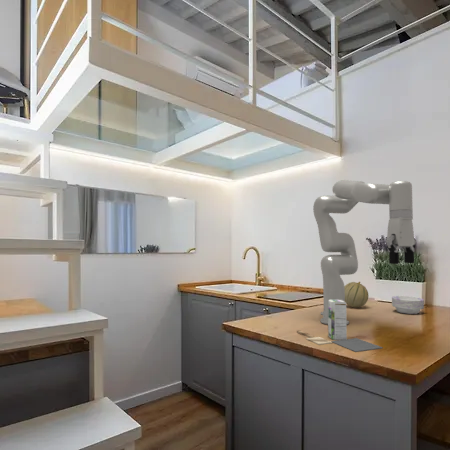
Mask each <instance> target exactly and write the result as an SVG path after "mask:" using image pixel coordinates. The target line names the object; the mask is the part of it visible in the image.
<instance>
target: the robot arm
mask: <svg viewBox="0 0 450 450" xmlns="http://www.w3.org/2000/svg"><path fill="white" fill-rule="evenodd" d="M332 193H333V195H325V194H324V195H320V196H318V197H316V199H315V201H314V203H313V215H314V219H315V222H316V225H317V228H318V229H317V230H318V234H319V237H318V238H319V241H320V243H319V244H320V247H321V249H322V251H323V252H325V253H340V254H328V255H325V256H324V257H322V258H321V261H320V270H321V274H322V287H323V288H322V289H323V291H322V292H323V293H322V294H323V295H322V296H323V311H321V312H319V313H320V316H322V318H320V323H322V324H324V325H328V300H342V301H344V302H345V288H344V286H345V283H344V281H343V279H342V276H346V275H348V276H349V275H354V274H356V272H357V271H358V269H359V261H358V260H359V259H358V255H357V249H356V244H355V240H354V238H353V236H352V235H351V234H349V233H347V232H338V229H337V223H336V221H335V220H334V217H332V216H331V214H348V213H349V212H350V211H351V210H353V209H354V207H356V206H357V205H358V203H365V204H374V205H375V204H376V205H377V204H379V205H389V206H388V207H389V208H388V209H389V215H388V216H389V217H388V218H389V219H388V225H387V232H386V233H387V234H386V240H385V242H386V245H387V246H386V247H387V249H388V254H389V255H388V257H389V258H388V259H389V261H388V263H389V264H391V265H399V264H400V253H399V252H398V251H399V249H400V248H403V249H404V252H403V253H404V254H403V255H404V263H405V264H414V263H415V249H416V244H417V241H416V238H415V236H414V235H415V233H414V224H413V220H414V218H413V217H414V213H413V185H412V183H411V182H410V181H407V180H402V181H401V180H400V181H394V182H391V183H390V184H385V183H384V184H383V183H368V182H367V183H366V182H364V181H362V180H361V181H359V180H349V179H344V180H338V181H336V182H335V183H334V184H333V186H332ZM346 323H347V324H346V325H349V323H350V321H349V320H348V319H346Z"/></svg>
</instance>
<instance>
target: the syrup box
mask: <svg viewBox="0 0 450 450" xmlns="http://www.w3.org/2000/svg"><path fill="white" fill-rule="evenodd" d="M346 320H347V304H346V302H344V301H342V300H328V324H327V325H328V328H327V330H328V331H327V332H328V337H329V338H330V339H331V341H337V340H345V339H348V337H347V334H348V333H347V332H348V331H347V325H348V324H347V323H346ZM346 324H347V325H346Z"/></svg>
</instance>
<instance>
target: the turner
mask: <svg viewBox="0 0 450 450" xmlns="http://www.w3.org/2000/svg"><path fill="white" fill-rule="evenodd" d="M296 333H297V334H299V335H302V336H304V337H305V339H306V340H307V341H309V342H311V343H314V344H316V345H319V346H321V345H328V344H333V343H332V342H331V341H332V340H328V339H326V338H323V337H322V336H321V337H320V336H315V335H312V334H310V333H307V332H305V331H302V330H296Z"/></svg>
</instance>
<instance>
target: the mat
mask: <svg viewBox="0 0 450 450" xmlns="http://www.w3.org/2000/svg"><path fill="white" fill-rule="evenodd" d="M330 341H331V342H332V343H331V344H334V345H337V346H339V347H342V348H345V349H347V350H348V351H352V352H355V353H359V352H366V351H372V350H373V351H374V350H381V349H383V347H382V346H379V345H377V344H374V343H372V342H368V341H366V340H364V339H361V338H357V337H354V338H347V339H345V340H330Z"/></svg>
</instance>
